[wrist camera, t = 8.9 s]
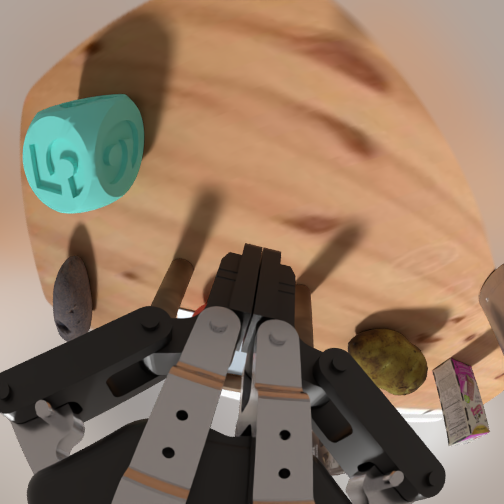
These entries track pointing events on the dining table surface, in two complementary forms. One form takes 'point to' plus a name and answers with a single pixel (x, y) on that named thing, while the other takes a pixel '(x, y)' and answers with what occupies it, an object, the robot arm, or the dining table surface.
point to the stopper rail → (232, 383)
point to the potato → (389, 360)
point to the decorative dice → (84, 152)
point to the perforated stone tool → (72, 299)
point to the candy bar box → (460, 402)
